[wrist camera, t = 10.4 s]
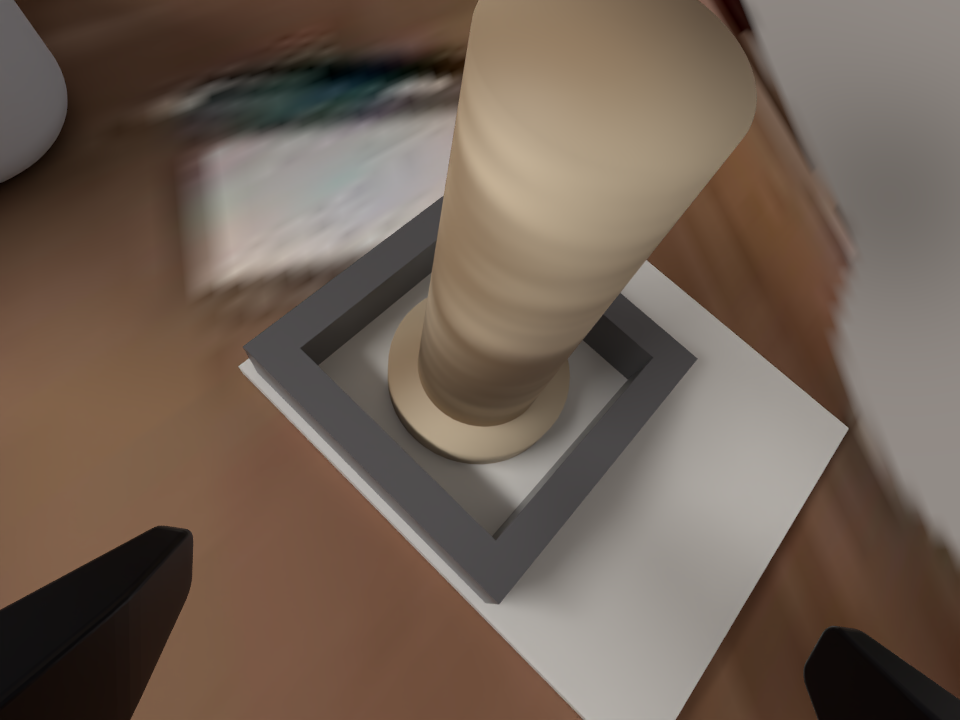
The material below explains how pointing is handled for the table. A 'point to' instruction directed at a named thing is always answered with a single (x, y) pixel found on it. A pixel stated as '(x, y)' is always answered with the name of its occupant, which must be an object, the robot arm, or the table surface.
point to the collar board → (572, 476)
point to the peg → (557, 202)
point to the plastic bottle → (26, 93)
